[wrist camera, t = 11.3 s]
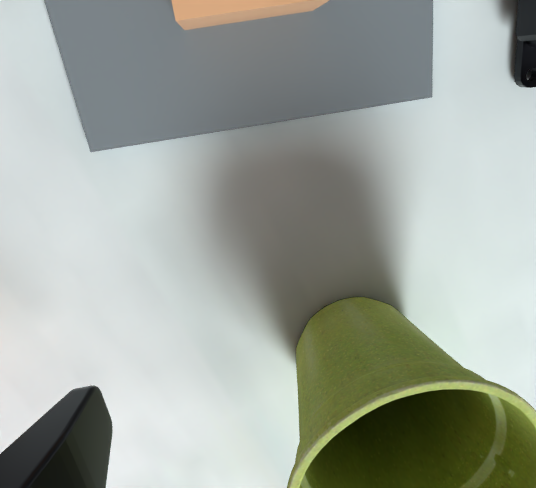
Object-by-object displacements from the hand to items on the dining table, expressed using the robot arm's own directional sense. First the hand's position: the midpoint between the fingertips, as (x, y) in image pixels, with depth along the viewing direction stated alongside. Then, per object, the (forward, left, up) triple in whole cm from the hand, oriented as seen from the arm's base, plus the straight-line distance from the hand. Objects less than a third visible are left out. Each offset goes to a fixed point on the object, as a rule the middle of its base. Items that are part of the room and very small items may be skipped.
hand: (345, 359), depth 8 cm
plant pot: (-3, +9, -12) cm, 16 cm away
